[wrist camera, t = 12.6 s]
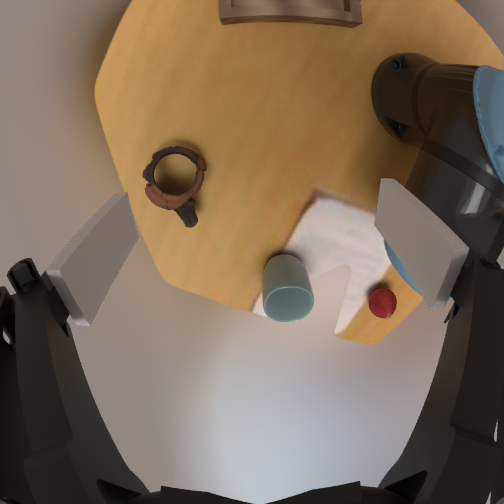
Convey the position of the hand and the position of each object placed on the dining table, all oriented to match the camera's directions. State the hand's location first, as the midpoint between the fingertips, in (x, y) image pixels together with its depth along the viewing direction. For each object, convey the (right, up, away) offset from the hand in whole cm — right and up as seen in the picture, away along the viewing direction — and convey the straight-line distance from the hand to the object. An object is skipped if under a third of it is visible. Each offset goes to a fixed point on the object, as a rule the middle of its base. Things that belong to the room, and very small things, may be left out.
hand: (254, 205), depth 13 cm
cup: (+5, -5, +36) cm, 36 cm away
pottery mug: (-11, +9, +27) cm, 30 cm away
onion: (+26, -10, +39) cm, 48 cm away
